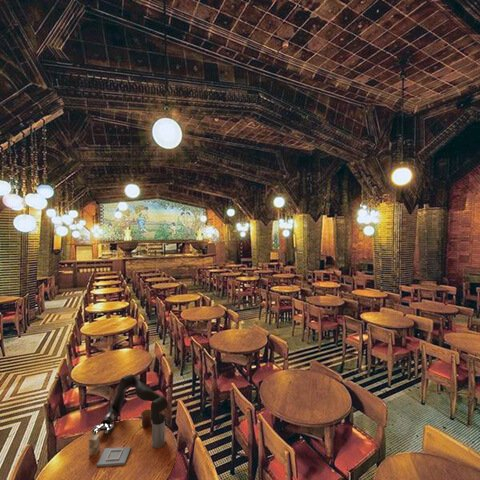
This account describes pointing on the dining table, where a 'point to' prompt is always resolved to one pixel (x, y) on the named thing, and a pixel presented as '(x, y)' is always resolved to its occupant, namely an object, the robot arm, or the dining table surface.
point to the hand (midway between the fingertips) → (99, 435)
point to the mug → (146, 418)
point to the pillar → (94, 444)
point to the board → (114, 456)
